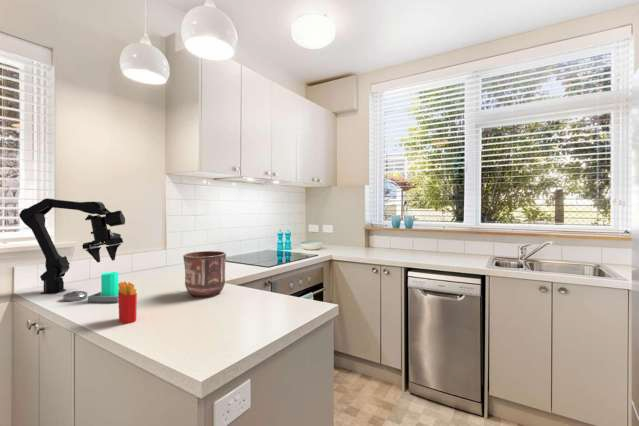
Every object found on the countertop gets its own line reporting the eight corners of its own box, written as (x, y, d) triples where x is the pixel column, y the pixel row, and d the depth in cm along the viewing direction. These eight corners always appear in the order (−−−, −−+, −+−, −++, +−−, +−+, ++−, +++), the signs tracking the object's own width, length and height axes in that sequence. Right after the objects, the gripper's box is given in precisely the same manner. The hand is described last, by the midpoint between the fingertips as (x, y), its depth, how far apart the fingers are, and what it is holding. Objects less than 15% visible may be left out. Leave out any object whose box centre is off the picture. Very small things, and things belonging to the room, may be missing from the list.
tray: (87, 302, 129) (87, 296, 129) (108, 294, 141) (107, 288, 141) (117, 303, 129) (117, 296, 129) (134, 294, 141) (134, 289, 141)
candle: (118, 298, 133) (118, 269, 133) (101, 300, 130) (101, 271, 129) (118, 295, 138) (118, 267, 138) (101, 297, 135) (101, 268, 134)
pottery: (199, 287, 154) (198, 250, 153) (232, 289, 150) (232, 251, 150) (175, 298, 137) (174, 256, 136) (212, 300, 133) (212, 257, 132)
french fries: (139, 321, 108) (138, 283, 108) (124, 325, 105) (124, 285, 105) (129, 315, 114) (129, 279, 114) (116, 318, 111) (115, 281, 111)
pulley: (58, 301, 130) (58, 294, 130) (73, 296, 138) (73, 289, 138) (77, 301, 130) (77, 294, 130) (91, 296, 138) (91, 289, 138)
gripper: (130, 223, 153) (136, 255, 153) (101, 228, 159) (107, 259, 159) (108, 226, 142) (114, 260, 143) (78, 231, 148) (85, 264, 149)
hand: (106, 261), depth 149 cm, fingers open, 9 cm apart
